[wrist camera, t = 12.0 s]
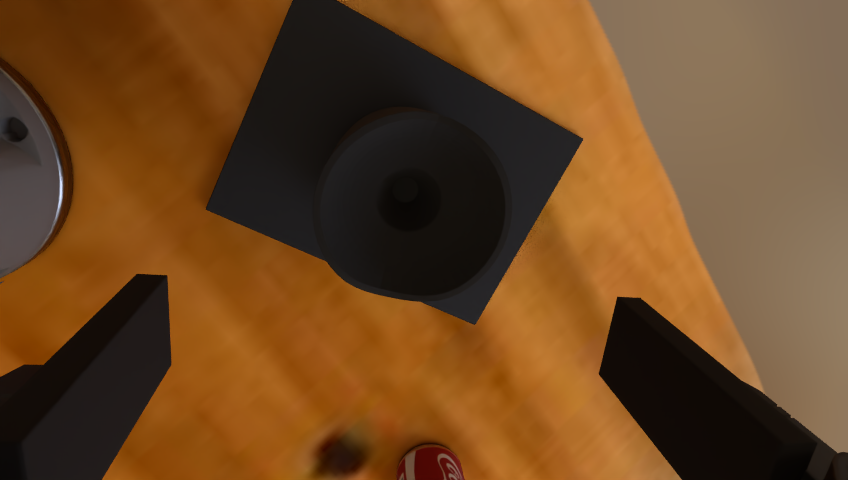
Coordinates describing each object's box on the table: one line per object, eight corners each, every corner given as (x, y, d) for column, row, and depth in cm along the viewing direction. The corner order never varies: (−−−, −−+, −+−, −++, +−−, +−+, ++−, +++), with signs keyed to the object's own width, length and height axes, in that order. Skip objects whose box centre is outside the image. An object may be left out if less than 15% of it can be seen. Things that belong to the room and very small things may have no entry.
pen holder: (419, 69, 32) (444, 69, 23) (496, 191, 35) (546, 237, 26) (295, 155, 33) (269, 190, 23) (381, 268, 36) (389, 340, 26)
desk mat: (207, 207, 34) (205, 209, 33) (302, -18, 30) (300, -20, 30) (473, 321, 39) (475, 325, 38) (580, 138, 35) (584, 139, 35)
